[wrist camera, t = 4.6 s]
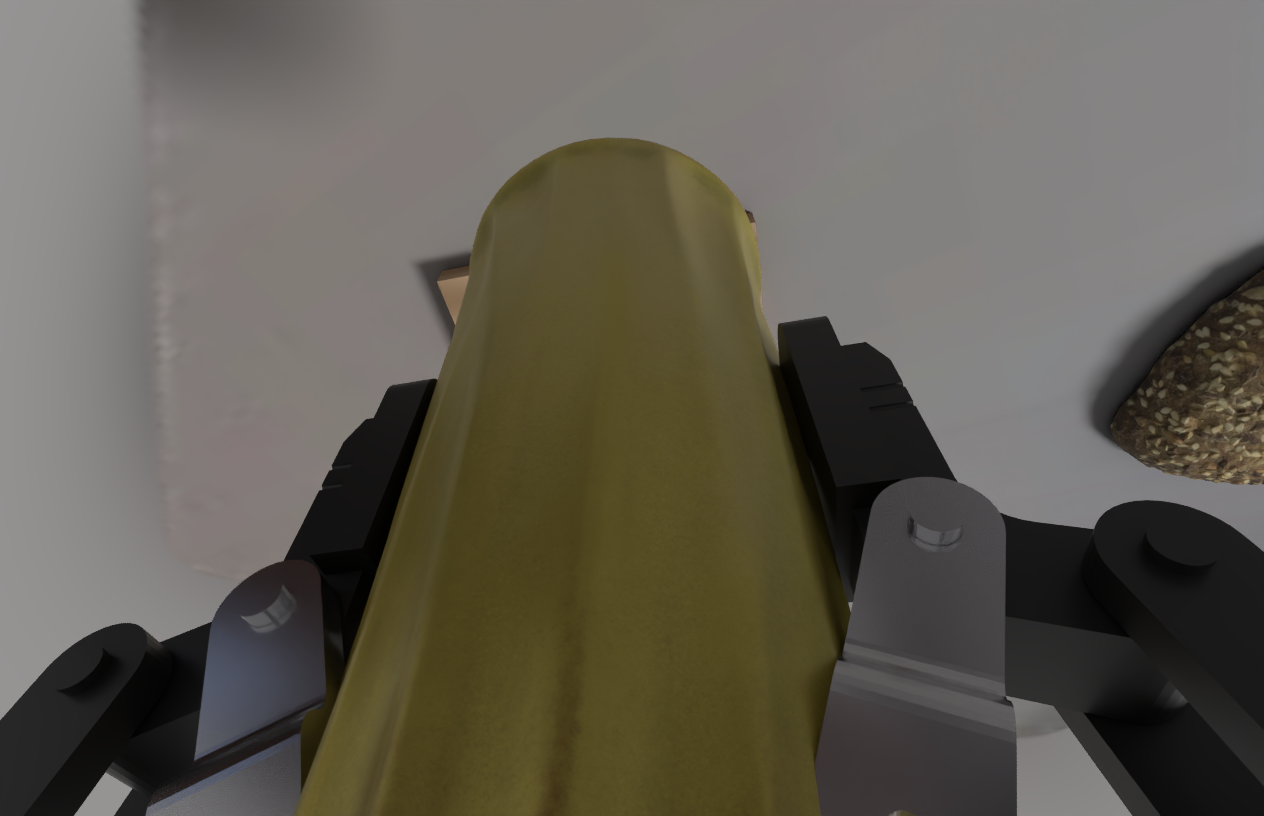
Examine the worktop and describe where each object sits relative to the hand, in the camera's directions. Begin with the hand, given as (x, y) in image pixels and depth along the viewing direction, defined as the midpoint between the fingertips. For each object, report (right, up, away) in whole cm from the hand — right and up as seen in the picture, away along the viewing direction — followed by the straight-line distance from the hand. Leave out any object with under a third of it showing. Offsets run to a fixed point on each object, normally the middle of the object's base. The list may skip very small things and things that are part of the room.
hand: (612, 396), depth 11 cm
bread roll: (+31, +2, +21) cm, 37 cm away
